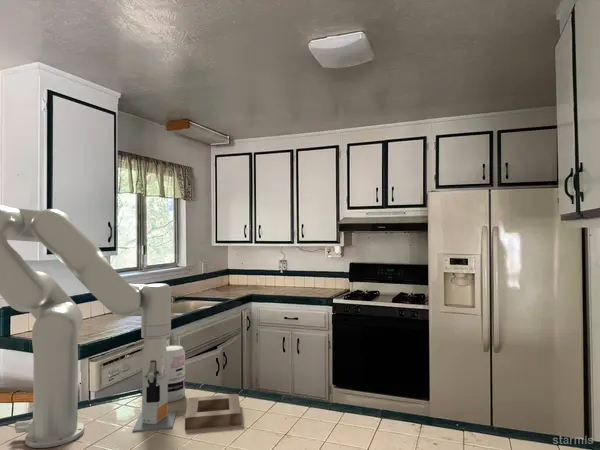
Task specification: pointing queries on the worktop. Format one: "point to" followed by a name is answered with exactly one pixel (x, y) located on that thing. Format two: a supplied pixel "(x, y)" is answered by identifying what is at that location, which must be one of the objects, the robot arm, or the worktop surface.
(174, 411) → the rubber mat
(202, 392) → the worktop surface
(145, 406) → the skincare box
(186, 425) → the holder block
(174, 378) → the supplement can
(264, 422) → the worktop surface
